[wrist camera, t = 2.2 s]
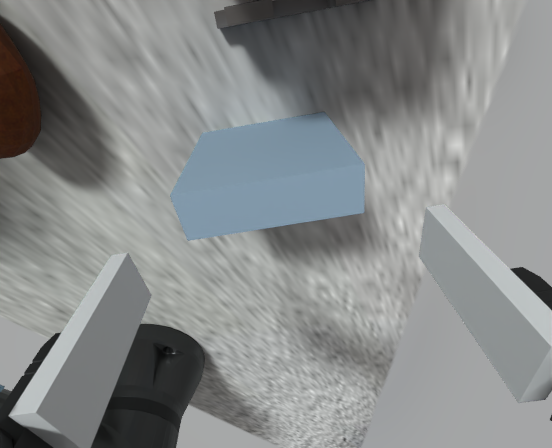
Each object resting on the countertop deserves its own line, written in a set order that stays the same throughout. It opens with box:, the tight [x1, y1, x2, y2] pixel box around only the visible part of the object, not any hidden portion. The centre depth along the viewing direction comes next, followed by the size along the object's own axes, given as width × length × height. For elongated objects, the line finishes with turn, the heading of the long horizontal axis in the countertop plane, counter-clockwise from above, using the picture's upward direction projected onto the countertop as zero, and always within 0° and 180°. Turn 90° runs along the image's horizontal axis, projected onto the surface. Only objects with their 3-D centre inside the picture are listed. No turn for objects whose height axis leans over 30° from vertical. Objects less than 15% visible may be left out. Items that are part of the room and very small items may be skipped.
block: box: [170, 112, 365, 241], centre depth 23 cm, size 4×11×12 cm, turn 99°
